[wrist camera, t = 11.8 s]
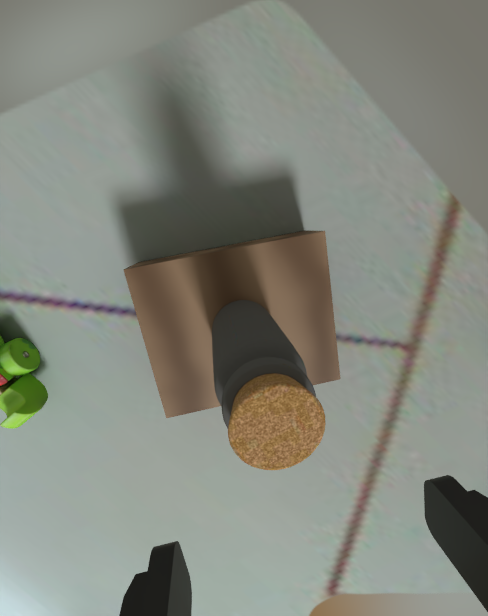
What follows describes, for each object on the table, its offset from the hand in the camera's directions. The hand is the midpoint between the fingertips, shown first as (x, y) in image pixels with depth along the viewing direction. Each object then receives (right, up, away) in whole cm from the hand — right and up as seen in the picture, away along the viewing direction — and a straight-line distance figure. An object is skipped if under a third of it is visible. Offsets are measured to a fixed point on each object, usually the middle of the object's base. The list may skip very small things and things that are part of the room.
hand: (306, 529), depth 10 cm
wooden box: (-3, +7, +25) cm, 26 cm away
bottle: (-2, +5, +19) cm, 20 cm away
